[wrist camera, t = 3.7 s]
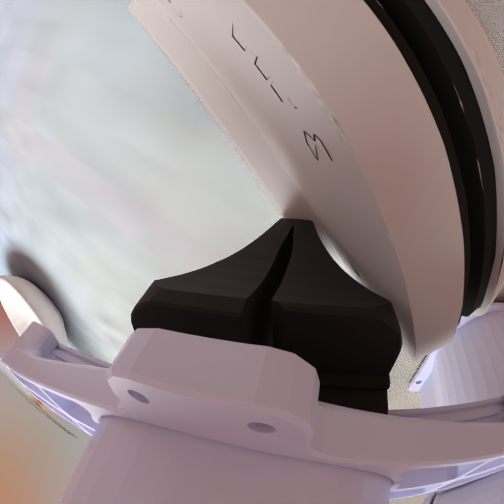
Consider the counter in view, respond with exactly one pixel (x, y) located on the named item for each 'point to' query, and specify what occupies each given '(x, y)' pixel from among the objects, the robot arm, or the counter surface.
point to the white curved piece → (363, 136)
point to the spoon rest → (30, 306)
